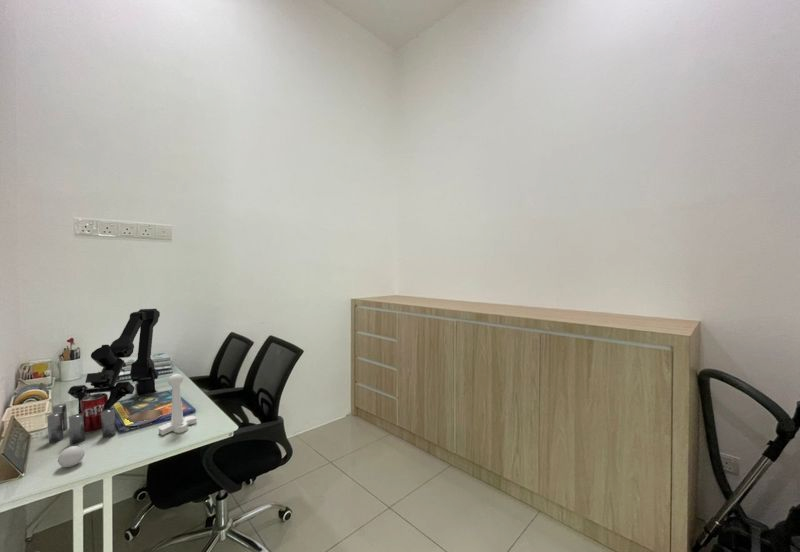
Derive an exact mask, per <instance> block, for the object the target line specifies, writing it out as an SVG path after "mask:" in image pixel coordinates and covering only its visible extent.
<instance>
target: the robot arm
mask: <svg viewBox="0 0 800 552" xmlns="http://www.w3.org/2000/svg"><path fill="white" fill-rule="evenodd" d="M160 313H161V312H160V310H158V309H157V308H140V309H139V310H138V311H134V312H131V313H130V314H129V318H128V321H127V322H126V323H125V324H126V325H125V326H124V328H123V330H122V332H121V334H120V336H119V337H118V338H117V339H115V340H114V341H112V342H111V344H110V345H109V344H102V345H101V346H100V347H98V348H96V349H95V350H94V351H92V352H91V354H90V358H91V360H93V361H94V362H95V363H96V364H97V365H98V366H100V367H101V368H102V369H101V371H98V372H92V373H87V374H86V379H85V383H86V384H87V383H88V384H89V383H90V386H91V387H88V386H86V385H85V384H82V385H81V384H80V385H79V384H78V385H72V386H71V387H70V388H69V389H68V391H67V394H69V395H70V396H71V397H73V399H77V401H78V411H77V412H78V413H77V414H81V405H80V401H81V400H82V398H84V397H86V396H89V395H92V394H97V393H109V396H108V401H107V403H106V405H105V408H104V410H106V409H110V408H112V406H113V407H114V405H115V404H116V403H117V402H118V401H120V400H121V399H122V398H123V397H126V396H127V395H133V394H134V392H135V394H137V396H139V397H141V396H145V395H148V394H153V393H157V389H156V386H155V385H156V383H155V382H156V379H158V378H159V374H160V373H159V371H158V370H157V368H156V367H155V363H154V361H153V360H152V357H151V355H152V347H153V346H152V344H153V335H154V327H156V325H157V324H158V322H159V320H160V319H159V318H160ZM138 332H139V340H138V350H137V358H136V359H135V361H134V362H132V363H131V365H130V366H131V367H130V370H129V371H130V372H129V374H130V378H131V381H132V383H135V384H134V385H133V384H132V383H131V382H130V381H120V379H121V377H120V373H121V372H122V370H123V368H126V367H127V364H126V362H125V360H124V359H123V358H125V359H126V358H129V357H132V355H133V353H134V348H135V345H134V341H135V338H136V336H137V334H138ZM118 381H119V382H118Z"/></svg>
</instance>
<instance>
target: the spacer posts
mask: <svg viewBox="0 0 800 552" xmlns="http://www.w3.org/2000/svg"><path fill="white" fill-rule="evenodd" d="M51 410H52V413H51V414H49V415H47V416H46V419H47V420H46V421H47V438H48V443H49V444H54V443H58V442H61V441H63V440H64V431H66V430H69V442H70V443H69V444H70V445H72V446H76V445H78V444H81V443H84V441H86V438H85V437H86V436H85V435H86V433H84V415H83V414H82V413H81V414H79V413H76V414H73V415H70V416H69V417H68V412H67V411H68V410H67V403H60V404H57V405H53V406H52V409H51ZM115 411H116V410H115V408H112V407H111V408H110V409H106V410H103V411H101V423H102V430H101V437H102V439H109V438H113V437H114V436H115V435H116V434H117V432H116V415H115ZM68 426H69V427H68ZM68 428H69V429H68Z"/></svg>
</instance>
